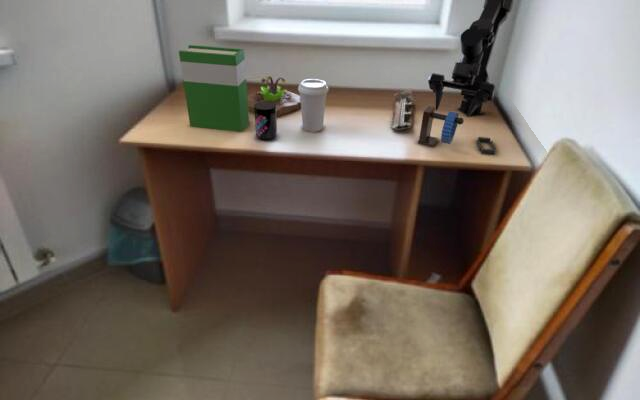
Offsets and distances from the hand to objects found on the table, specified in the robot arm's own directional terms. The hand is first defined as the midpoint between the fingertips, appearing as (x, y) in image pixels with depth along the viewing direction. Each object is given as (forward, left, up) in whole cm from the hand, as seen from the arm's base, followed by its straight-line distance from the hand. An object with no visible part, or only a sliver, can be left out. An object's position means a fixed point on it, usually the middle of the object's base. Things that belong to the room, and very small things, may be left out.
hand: (451, 112), depth 128 cm
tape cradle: (-13, +3, -11) cm, 17 cm away
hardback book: (+64, -34, -12) cm, 73 cm away
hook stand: (+1, -3, -11) cm, 12 cm away
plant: (+44, -46, -12) cm, 65 cm away
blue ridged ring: (-1, -1, -5) cm, 5 cm away
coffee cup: (+35, -24, -12) cm, 44 cm away
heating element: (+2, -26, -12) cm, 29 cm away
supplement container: (+51, -21, -12) cm, 56 cm away
